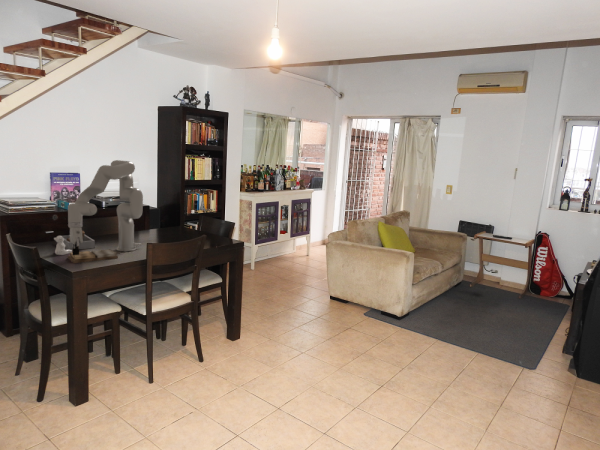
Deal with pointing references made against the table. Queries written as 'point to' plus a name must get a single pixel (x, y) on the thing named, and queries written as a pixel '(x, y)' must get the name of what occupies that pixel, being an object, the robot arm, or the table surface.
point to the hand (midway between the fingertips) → (75, 254)
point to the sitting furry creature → (61, 246)
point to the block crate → (85, 245)
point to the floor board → (97, 256)
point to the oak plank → (83, 255)
